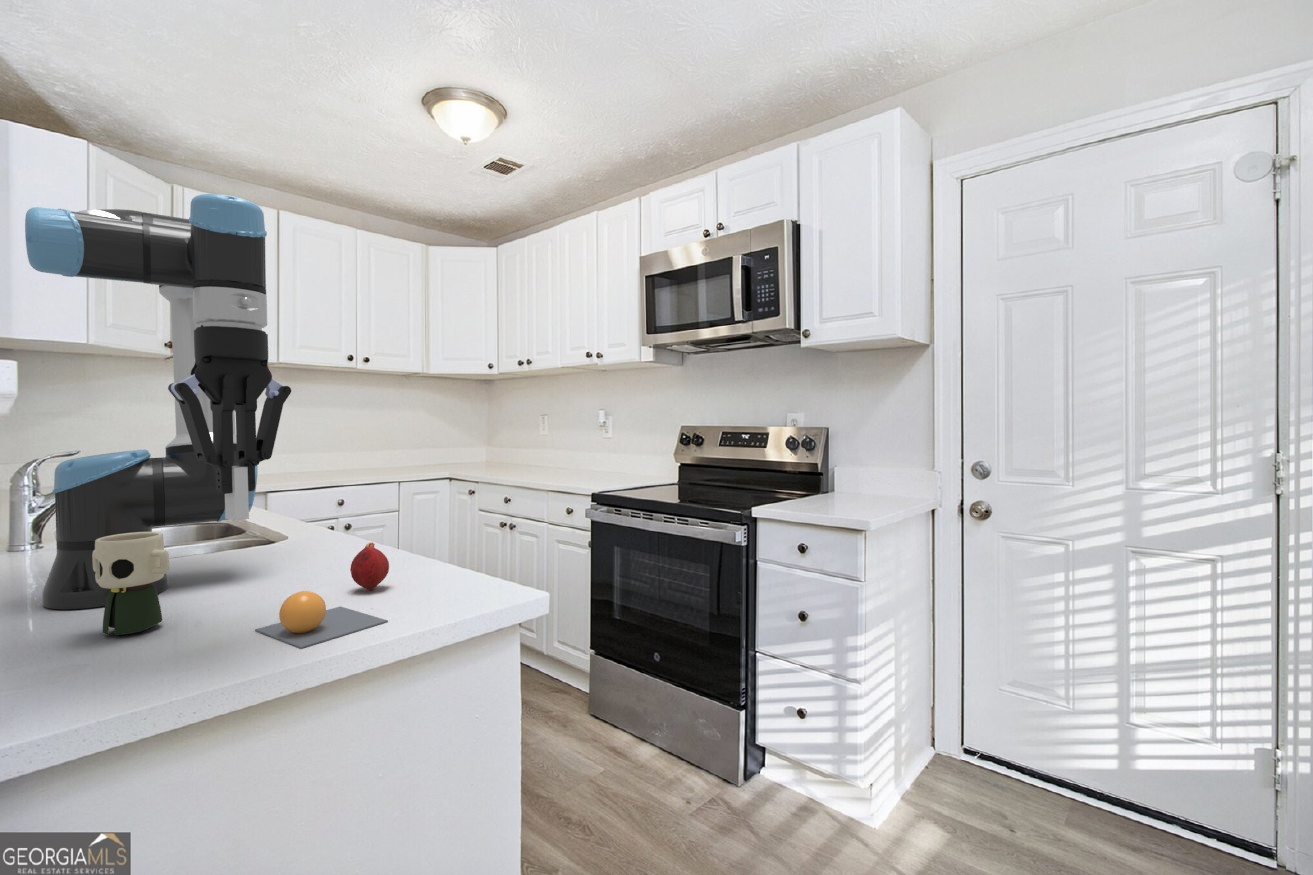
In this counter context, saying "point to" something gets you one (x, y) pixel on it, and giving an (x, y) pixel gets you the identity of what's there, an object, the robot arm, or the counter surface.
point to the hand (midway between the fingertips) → (237, 518)
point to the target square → (324, 627)
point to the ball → (302, 612)
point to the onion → (369, 567)
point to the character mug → (130, 579)
